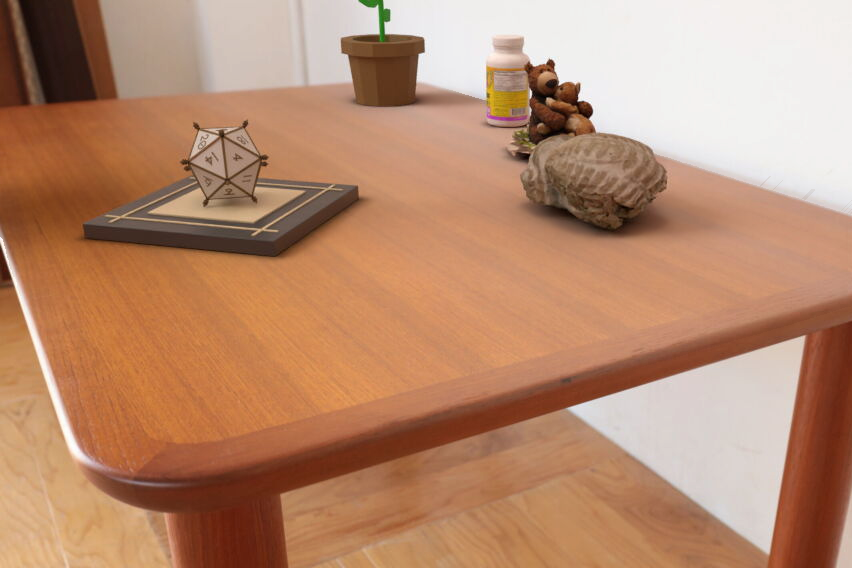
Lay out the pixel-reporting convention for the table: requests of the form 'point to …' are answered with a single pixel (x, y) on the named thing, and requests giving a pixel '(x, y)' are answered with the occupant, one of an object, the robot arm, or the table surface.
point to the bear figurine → (551, 110)
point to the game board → (225, 216)
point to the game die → (225, 162)
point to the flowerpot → (383, 63)
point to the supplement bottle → (507, 83)
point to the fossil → (594, 177)
